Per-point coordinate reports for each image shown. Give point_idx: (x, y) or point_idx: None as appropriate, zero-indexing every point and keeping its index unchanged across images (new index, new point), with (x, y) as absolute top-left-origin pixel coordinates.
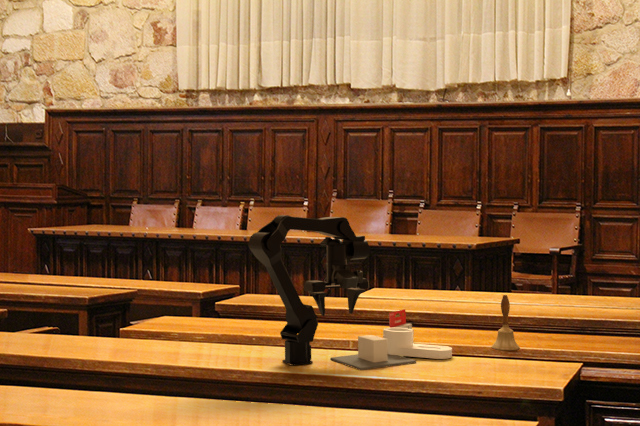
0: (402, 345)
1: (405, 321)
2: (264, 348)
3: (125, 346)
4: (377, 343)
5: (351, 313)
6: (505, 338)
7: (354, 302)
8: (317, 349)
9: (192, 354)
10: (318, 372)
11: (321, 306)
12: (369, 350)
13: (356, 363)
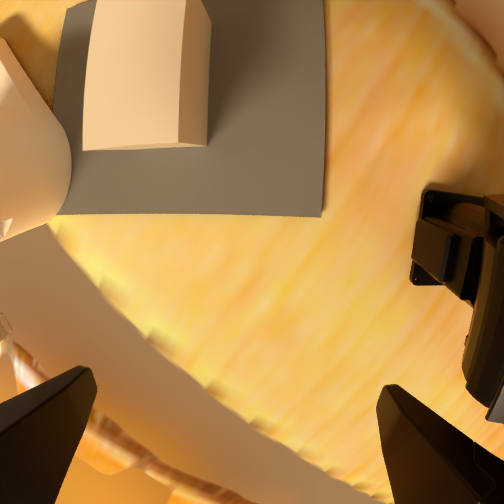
0: (16, 109)
1: None
2: (365, 459)
3: None
4: None
5: (86, 367)
6: None
7: (9, 412)
8: (244, 402)
9: (498, 435)
10: (466, 57)
11: (462, 438)
12: (200, 34)
13: (291, 40)
